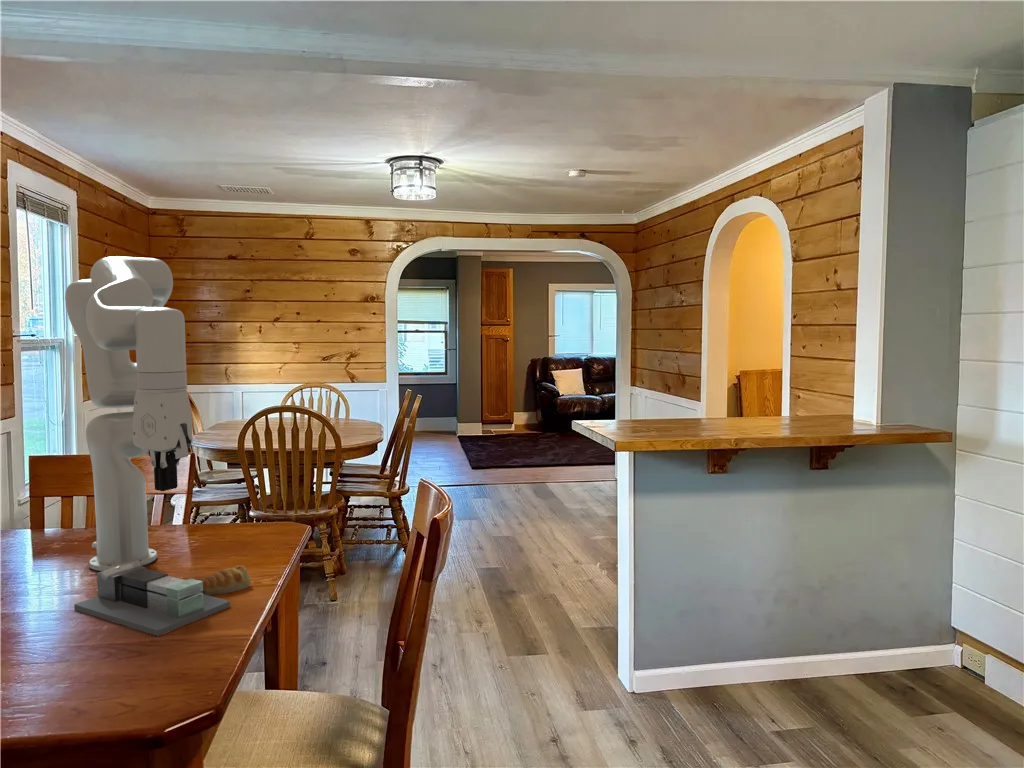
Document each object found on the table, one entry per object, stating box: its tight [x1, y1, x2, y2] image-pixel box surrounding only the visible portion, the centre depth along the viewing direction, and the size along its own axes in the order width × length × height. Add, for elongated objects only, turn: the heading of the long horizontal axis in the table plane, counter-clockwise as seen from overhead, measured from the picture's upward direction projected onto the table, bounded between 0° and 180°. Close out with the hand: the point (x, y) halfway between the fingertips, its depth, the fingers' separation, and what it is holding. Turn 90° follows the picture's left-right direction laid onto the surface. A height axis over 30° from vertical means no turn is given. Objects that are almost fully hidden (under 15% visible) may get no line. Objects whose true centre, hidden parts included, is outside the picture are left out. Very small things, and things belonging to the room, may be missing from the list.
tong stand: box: [96, 560, 204, 619], centre depth 127 cm, size 22×6×5 cm, turn 61°
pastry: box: [200, 564, 252, 596], centre depth 137 cm, size 9×7×4 cm
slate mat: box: [73, 594, 231, 637], centre depth 127 cm, size 23×14×1 cm, turn 61°
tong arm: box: [120, 568, 203, 600], centre depth 126 cm, size 16×5×2 cm, turn 61°
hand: (166, 488), depth 123 cm, fingers closed
